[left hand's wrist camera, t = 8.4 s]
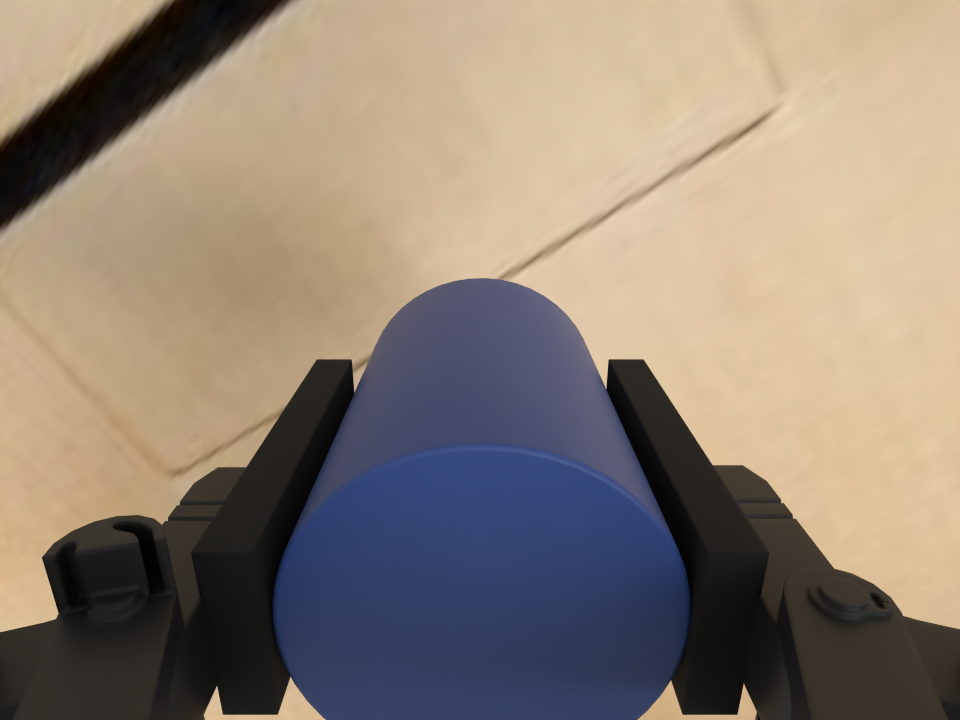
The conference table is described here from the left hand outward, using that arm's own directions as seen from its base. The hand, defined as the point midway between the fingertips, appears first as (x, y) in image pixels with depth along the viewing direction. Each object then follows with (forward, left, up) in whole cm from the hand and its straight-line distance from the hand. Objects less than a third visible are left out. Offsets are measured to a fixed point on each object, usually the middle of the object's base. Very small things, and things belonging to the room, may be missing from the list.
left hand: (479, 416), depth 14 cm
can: (0, 0, -2) cm, 2 cm away
